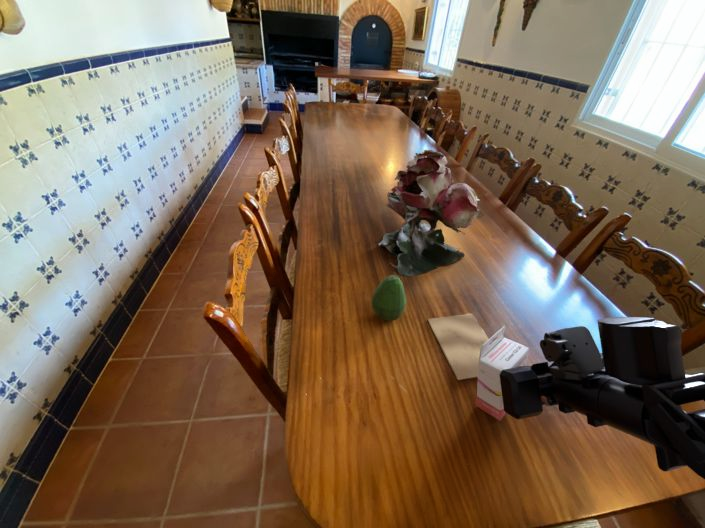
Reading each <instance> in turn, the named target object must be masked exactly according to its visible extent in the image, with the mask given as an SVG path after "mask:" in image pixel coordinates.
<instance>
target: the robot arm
mask: <svg viewBox="0 0 705 528" xmlns="http://www.w3.org/2000/svg"><path fill="white" fill-rule="evenodd" d="M596 321H597V322H596V323H597V329H598V335H599V341H600V349H601V352H600V350H599V347H598V346H597V344H596V341H595V339H594V337H593V335H592V332H591V331H590V330H589V329H588V328H587V327H586V326H583V325H578V326H572V327H563V328H561V329H557V330H554V331H550V332H545V333H544V335H543V339H541V340H540V342H539V346H540V350H541V351H542V355H543V357H544V359H545V360H546V361H543V362H538V363H533V364H531V365H526V366H519V367H516V368H510V369H504V370H502V371H501V373H500V374H499V375H500V383H501V391H502V398H503V406H504V411H505V412H506V415H508V416H510V417H512V418H514V419H515V420H517V421H518V420H523V419H528V418H533V417H537V416H540V415H541V414H542V413H543V412H544V409H543V406H546V407H549V408H550V407H555V406H558V411H559V412H561V413H563V414H570V413H575V412H576V413H579V414H580V415H583V416H586V422H587V424H588V425H590V426H592V427H594V428H600V427H603V426H608V427H609V428H610V427H611V428H613V429H615V430H618V431H619V432H622V433H625V434H627V435H629V436H632V437H634V438H636V439H639V440H640V441H643V442H646V443H648V444H649V445H652V446H653V447H654V448H655V449H654V450H655V457H656V463H657V467H658V469H659V470H661V472H670V471H673V470H678V469H681V468H684V467H688V468H689V469H690V470H691V471H692V472H694V473H695V474H696V475H697V476H699V477H700V478H701V479H703V480H705V408H702V409H698V410H694V411H690V412H686V411H685V410H684V409H683V407H682V406H683V405H686V404H692V403H697V402H700V401H703V402H705V373H703V372H700V373H695V374H688V373H686V370H685V363H684V358H683V352H682V346H681V345H682V333H681V327H680V326H679V325H677V324H668V323H667V322H666V321H663V320H658V319H655V317H643V316H616V317H615V316H614V317H604V318H603V317H602V318H599V319H597V320H596ZM549 363H551V364H550V365H549Z"/></svg>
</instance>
